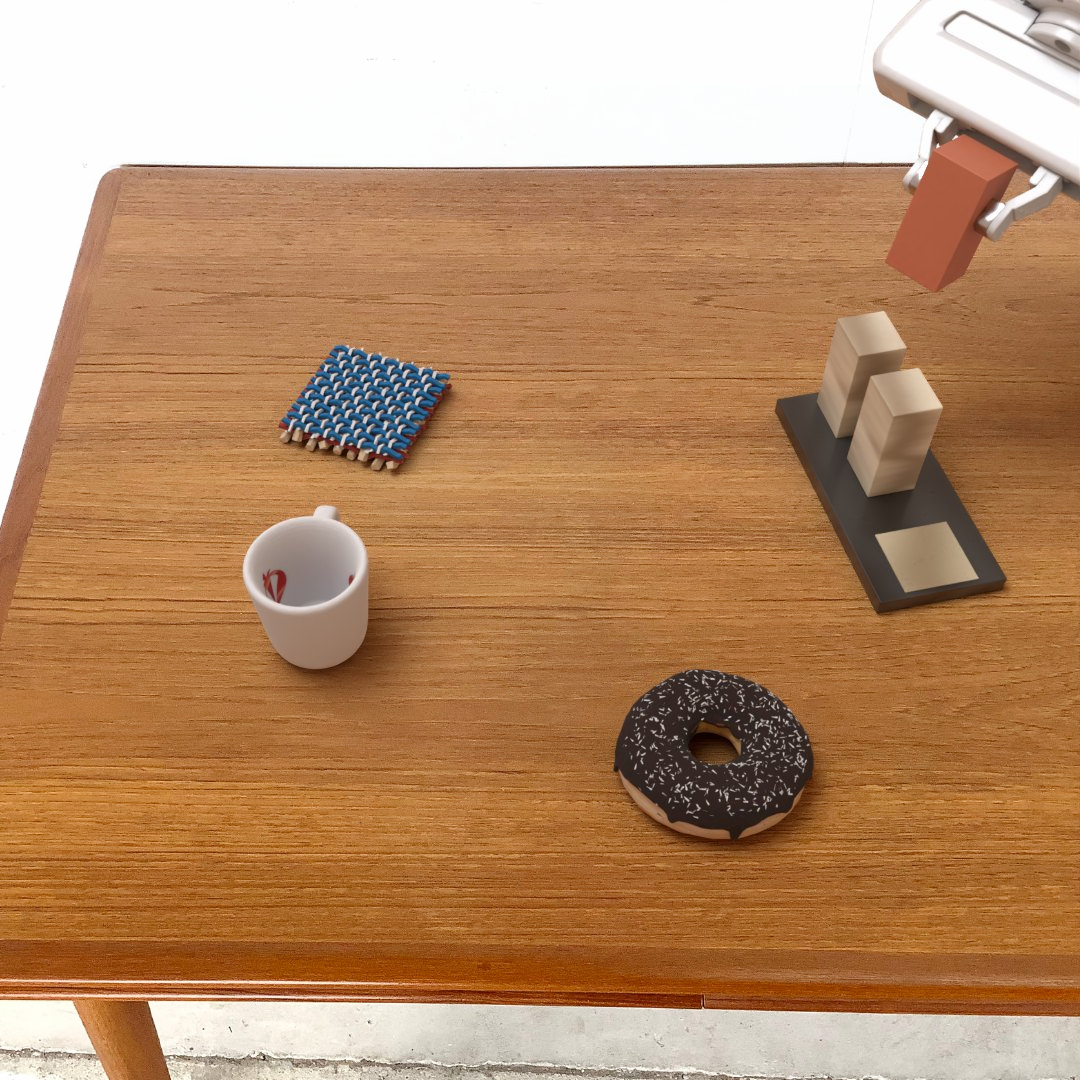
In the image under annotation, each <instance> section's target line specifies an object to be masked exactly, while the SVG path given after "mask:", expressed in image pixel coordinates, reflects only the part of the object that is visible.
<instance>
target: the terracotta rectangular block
mask: <svg viewBox="0 0 1080 1080" xmlns="http://www.w3.org/2000/svg"><path fill="white" fill-rule="evenodd" d="M1018 165H1019V164H1018V163H1016V162H1014V161H1012V160H1011V159H1009V158H1007V157H1005V156H1003V155H1001V154H1000V153H998V152H996V151H994V150H992V149H991V148H989V147H987V146H985V145H983V144H981V143H980V142H978V141H976V140H974V139H972V138H971V137H969V136H967V135H965V134H963V135H961V136H959V137H958V136H956V137H954V138H953V139H952V140H951V141H949V142H948V143H946V144H944V145H942V146H937V147H936V149H934V150H933V152H932V154H931V157H930V159H929V161H928V163H927V166H926V168H925V170H924V173H923V175H922V177H921V180H920V182H919V184H918V186H917V189H916V191H915V193H914V196H913V195H912V198H911V201H910V202H909V205H908V207H907V210H906V212H905V214H904V216H903V219H902V221H901V223H900V225H899V228H898V230H897V233H896V235H895V237H894V238H893V239H894V240H893V241H892V244H891V247H890V248H889V251H888V253H887V255H886V258H885V260H884V263H885V264H887V265H888V266H890V267H892V268H893V269H895V270H896V271H898V272H900V273H901V274H903V275H905V277H908V279H911V280H913V281H914V282H916V283H918V284H919V285H921V286H922V287H923V288H926V289H927V290H929V291H931V292H932V293H934V294H937V293H938V292H939V291H941V290H942V289H944V288H946V287H948V286H949V285H951V284H953V283H955V282H956V281H957V280H959V279H960V278H963V276H965V274H966V272H967V270H968V268H969V266H970V264H971V262H972V260H973V257H974V256H975V254H976V253H977V249H978V248H979V246H980V244H981V242H982V240H983V238H984V236H983V235H981V234H979V233H978V232H976V231H975V227H974V222H975V220H976V218H977V217H978V215H979V214H980V213H981V212H984V211H985V207H986V205H987V204H988V203H989V202H990V200H991V199H992V198H994V199H995V200H997V201H999V202H1001V201H1002V199H1003V197H1004V195H1005V193H1006V191H1007V189H1008V187H1009V185H1010V183H1011V181H1012V179H1013V177H1014V175H1015V173H1016V171H1017V170H1018V169H1017V167H1018Z"/></svg>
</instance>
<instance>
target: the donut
mask: <svg viewBox="0 0 1080 1080" xmlns="http://www.w3.org/2000/svg"><path fill="white" fill-rule="evenodd" d="M700 733H708V734H715V735H718V736H721V737H722V738H723V737H724V738H725V739H727V740H729V741H730V743H731V744H732V745H733V747H734V749H735V750H736V752H737V754H738V757H737V758H734V759H733V760H730V761H729V762H725V763H723V764H712V763H707V762H704V761H701V760H700V759H697V757H695V756H694V755H693V754H692V753H691V750H690V749H689V746H690V742H691V741H692V739H694V737H695V735H696V734H700ZM613 762H614V763H613V769H612V771H613V772H614V773H618V772H619V773H618V774H619V775H620V779H621V782H622V785H623V787H624V788H625V790H626V791H627V793H628V794H629V796H630V797H631V798H632V799H633V801H634V803H635V804H636V806H637V807H638V808H639V809H640V810H641V811H642V812H644V813H645V814H647V815H648V816H649V817H651V818H652V819H653V820H654V821H656V823H657V822H658V823H659V824H661V825H664V826H666V827H668V828H670V829H672V830H674V831H676V832H678V833H683V834H687V835H691V836H695V837H696V836H697V837H702V838H707V839H712V840H730V841H733V842H734V841H737V840H738V839H741V838H746V837H749V836H751V835H755V834H758V833H760V832H763V831H765V830H767V829H769V828H771V827H773V826H775V825H777V824H778V823H779V822H781V821H782V820H783V819H784V818H785V817H787V815H789V814H790V813H791V812H792V810H793V809H794V808H795V807H796V805H797V804H798V802H799V801H800V799H801V796H802V794H803V791H804V789H805V785H806V784H807V783H808V781H811V780H813V771H814V768H815V767H814V765H815V757H814V753H813V749H812V743H811V740H810V736H809V733H807V731H806V729H805V728H804V726H803V725H802V723H801V722H800V721H799V720H798V717H797V716H796V714H794V713H793V711H792V710H791V709H790V708H789V707H788V706H787V705H786V704H785V703H784V702H783V700H782V699H781V698H780V697H778V696H777V695H776V694H775V692H771V691H770V690H769V689H768V688H767V687H764V686H762V685H761V684H760V683H758V682H755V681H753V680H750V679H748V678H745V677H743V676H740V675H737V674H731V673H729V672H722V671H721V670H717V669H701V668H692V669H686V670H683V671H680V672H678V673H675V674H673V675H671V676H670V677H667V678H666V679H664V680H662V681H661V682H659V683H657V684H655V686H653V687H651V688H650V689H649V690H647V691H646V692H645V693H644V694H642V695H640V697H638V699H636V701H635V702H634V703H633V704H632V705H631V707H630V709H629V711H628V713H627V714H626V715H625V718H624V721H623V723H622V726H621V728H620V731H619V734H618V737H617V739H616V744H615V749H614V761H613Z"/></svg>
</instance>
